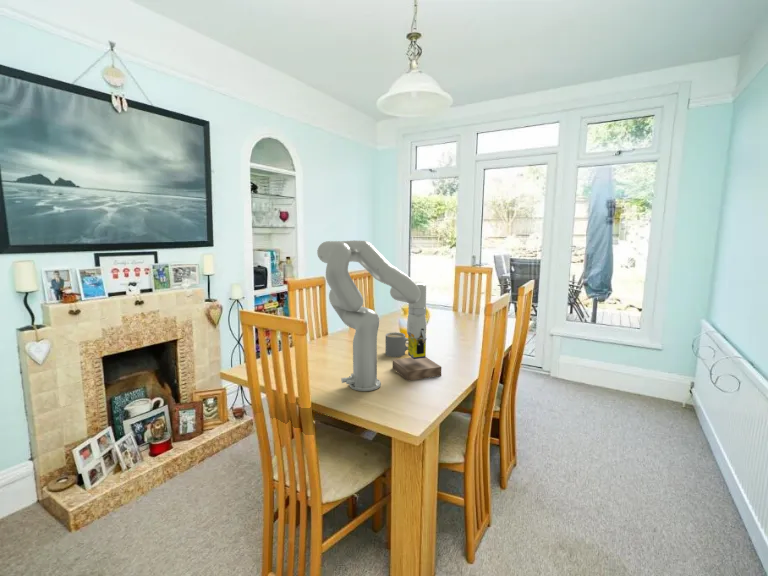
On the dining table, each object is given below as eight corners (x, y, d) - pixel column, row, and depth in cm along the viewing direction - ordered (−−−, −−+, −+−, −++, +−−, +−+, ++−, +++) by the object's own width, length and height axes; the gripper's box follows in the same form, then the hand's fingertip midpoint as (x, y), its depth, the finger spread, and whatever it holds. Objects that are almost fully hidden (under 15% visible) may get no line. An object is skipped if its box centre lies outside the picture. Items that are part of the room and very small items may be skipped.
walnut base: (407, 380, 158) (407, 371, 158) (392, 368, 173) (392, 359, 172) (441, 375, 164) (441, 366, 163) (423, 364, 179) (424, 355, 178)
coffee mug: (384, 356, 190) (384, 337, 188) (386, 350, 199) (387, 332, 198) (410, 357, 188) (411, 338, 186) (412, 351, 197) (412, 333, 196)
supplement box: (407, 355, 169) (407, 331, 168) (419, 353, 171) (420, 330, 170) (413, 359, 164) (413, 334, 162) (425, 357, 166) (426, 333, 164)
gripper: (401, 308, 171) (400, 346, 174) (418, 315, 155) (418, 358, 158) (415, 306, 174) (415, 345, 176) (434, 314, 158) (433, 356, 161)
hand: (416, 350), depth 167 cm, fingers closed on supplement box, 6 cm apart
